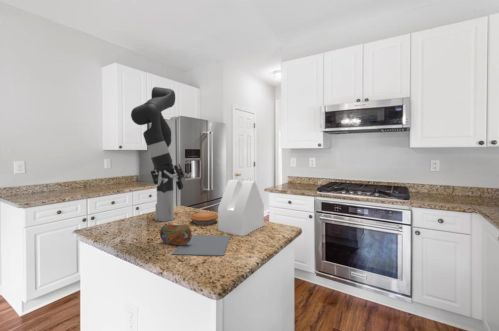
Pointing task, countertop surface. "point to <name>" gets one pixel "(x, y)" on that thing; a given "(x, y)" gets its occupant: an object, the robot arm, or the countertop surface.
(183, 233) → the tin
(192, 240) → the mat
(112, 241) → the countertop surface
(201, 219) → the pie
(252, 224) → the milk carton
